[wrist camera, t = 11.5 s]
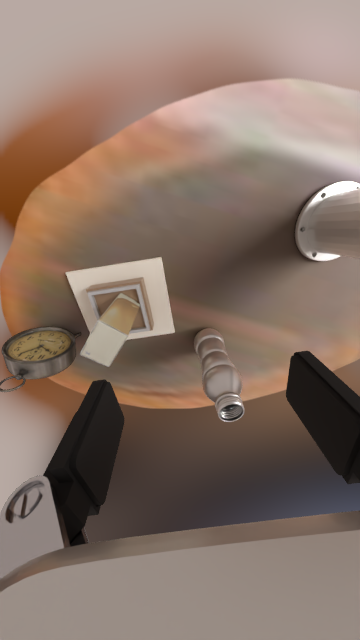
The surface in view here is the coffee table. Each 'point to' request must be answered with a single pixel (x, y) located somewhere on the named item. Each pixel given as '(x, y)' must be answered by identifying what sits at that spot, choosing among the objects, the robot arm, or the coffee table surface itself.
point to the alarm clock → (39, 353)
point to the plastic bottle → (219, 375)
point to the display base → (126, 273)
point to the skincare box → (111, 331)
